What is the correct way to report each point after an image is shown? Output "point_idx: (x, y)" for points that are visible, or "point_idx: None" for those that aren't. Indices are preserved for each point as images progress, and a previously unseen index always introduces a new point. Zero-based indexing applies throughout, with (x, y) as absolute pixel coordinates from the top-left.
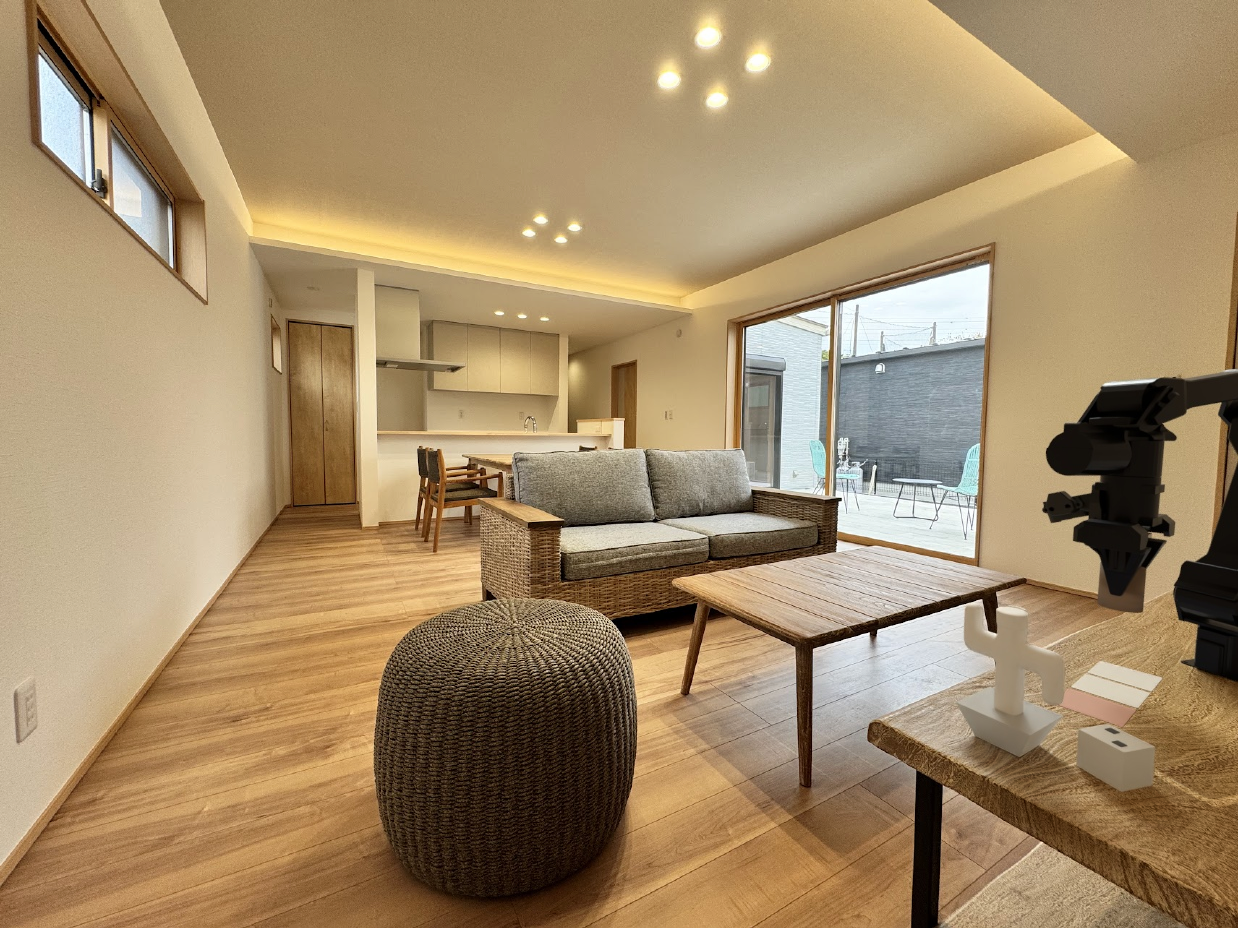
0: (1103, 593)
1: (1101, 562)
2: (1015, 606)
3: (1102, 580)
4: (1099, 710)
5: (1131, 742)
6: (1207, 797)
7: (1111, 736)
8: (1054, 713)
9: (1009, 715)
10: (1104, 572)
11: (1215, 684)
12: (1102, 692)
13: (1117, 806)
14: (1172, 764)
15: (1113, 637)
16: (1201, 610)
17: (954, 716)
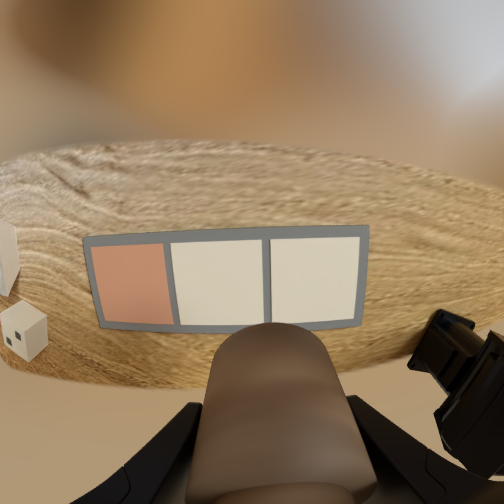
0: (216, 376)
1: (95, 489)
2: None
3: (216, 410)
4: (123, 294)
5: (18, 348)
6: (69, 372)
7: (12, 335)
8: (4, 289)
9: None
10: (132, 458)
11: (392, 351)
12: (193, 281)
13: None
14: (89, 356)
15: (488, 217)
16: (470, 389)
17: (3, 194)
